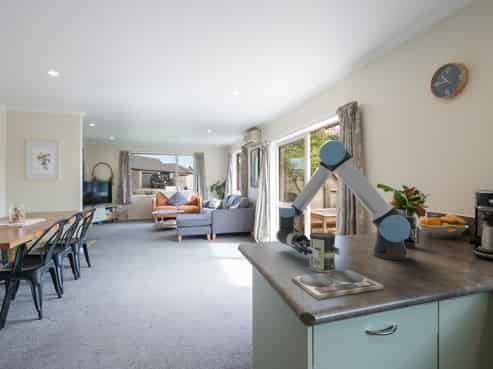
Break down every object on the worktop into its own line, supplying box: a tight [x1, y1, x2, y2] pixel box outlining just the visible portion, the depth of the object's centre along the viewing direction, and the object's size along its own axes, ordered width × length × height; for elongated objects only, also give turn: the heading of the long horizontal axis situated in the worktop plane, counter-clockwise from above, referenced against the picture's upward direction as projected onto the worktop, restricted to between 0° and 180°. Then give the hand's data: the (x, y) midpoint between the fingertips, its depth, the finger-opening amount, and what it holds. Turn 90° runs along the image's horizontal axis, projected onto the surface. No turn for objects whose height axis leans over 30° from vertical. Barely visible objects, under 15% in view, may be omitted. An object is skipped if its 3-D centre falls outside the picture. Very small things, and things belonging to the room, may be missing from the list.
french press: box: [402, 205, 420, 249], centre depth 148 cm, size 12×9×23 cm
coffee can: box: [309, 232, 336, 273], centre depth 109 cm, size 10×10×14 cm
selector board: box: [291, 269, 384, 300], centre depth 92 cm, size 26×16×2 cm, turn 109°
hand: (329, 252), depth 105 cm, fingers closed on coffee can, 10 cm apart
